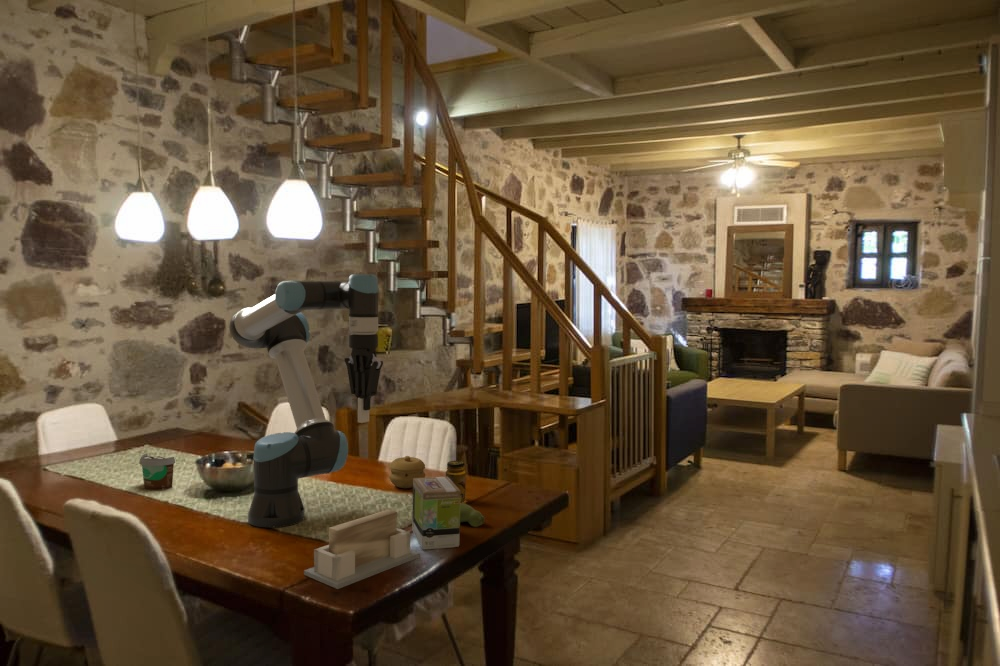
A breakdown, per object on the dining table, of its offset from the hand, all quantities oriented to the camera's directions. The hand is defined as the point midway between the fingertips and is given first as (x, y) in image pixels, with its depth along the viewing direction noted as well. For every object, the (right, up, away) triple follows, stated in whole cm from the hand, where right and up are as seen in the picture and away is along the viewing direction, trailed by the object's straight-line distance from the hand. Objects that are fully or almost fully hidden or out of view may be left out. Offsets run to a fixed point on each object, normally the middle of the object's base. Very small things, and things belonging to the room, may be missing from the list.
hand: (363, 421), depth 197 cm
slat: (+4, -30, -22) cm, 38 cm away
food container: (-74, -26, +39) cm, 87 cm away
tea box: (+19, -30, -4) cm, 36 cm away
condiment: (+22, -28, +29) cm, 46 cm away
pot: (+6, -27, +45) cm, 52 cm away
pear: (+27, -30, +9) cm, 41 cm away
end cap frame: (+4, -31, -22) cm, 38 cm away
